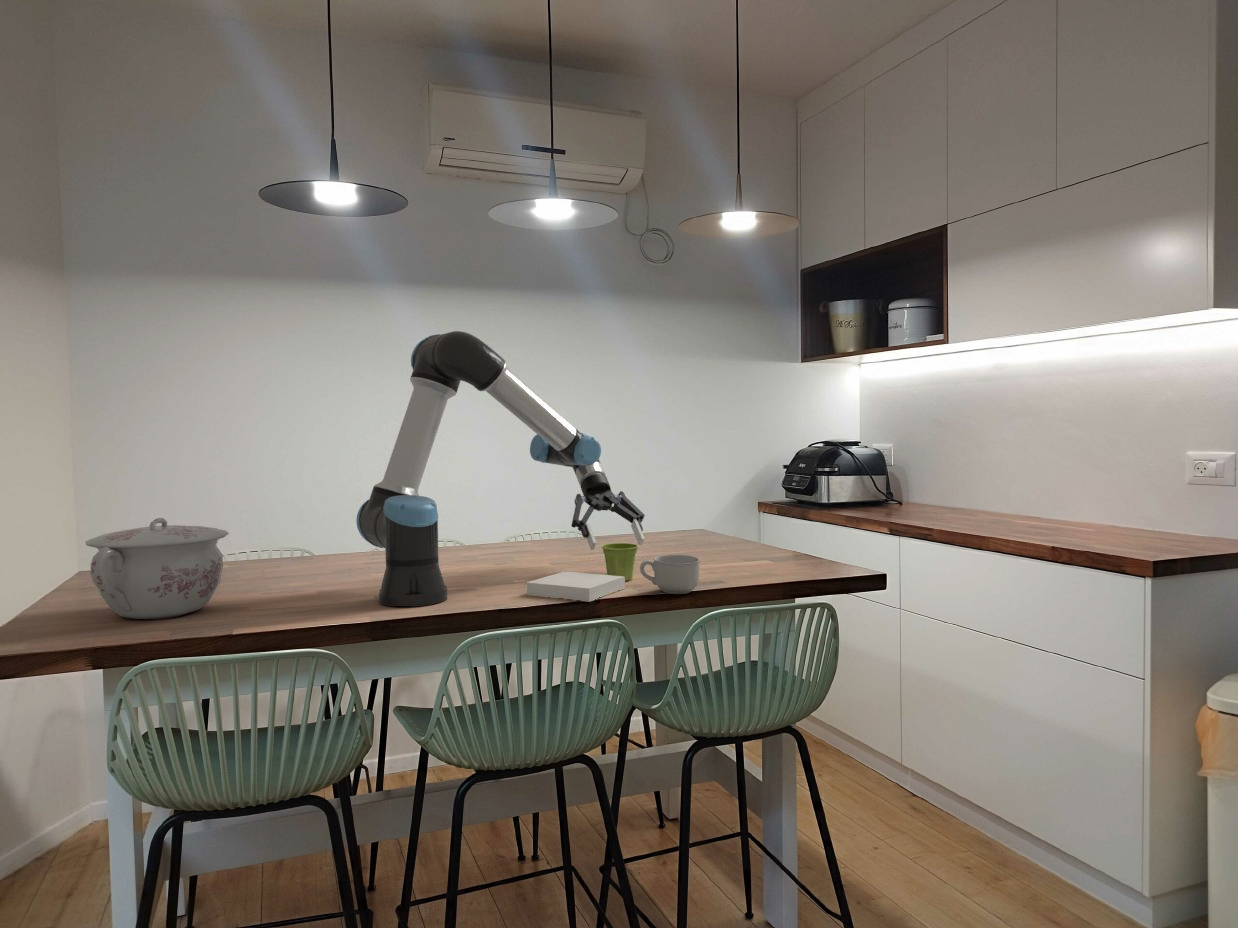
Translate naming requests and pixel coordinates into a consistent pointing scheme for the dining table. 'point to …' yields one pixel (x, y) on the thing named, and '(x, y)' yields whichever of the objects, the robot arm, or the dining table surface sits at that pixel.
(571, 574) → the plinth
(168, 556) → the chamber pot
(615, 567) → the plant pot
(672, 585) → the teacup
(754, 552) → the dining table surface
